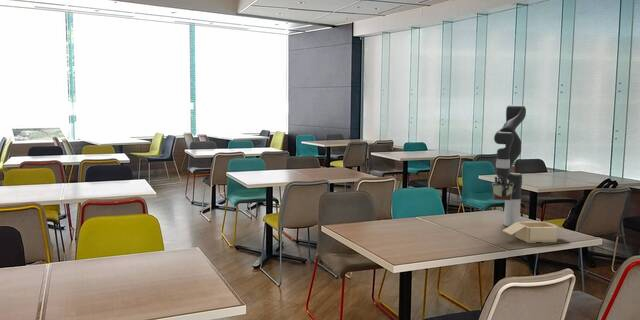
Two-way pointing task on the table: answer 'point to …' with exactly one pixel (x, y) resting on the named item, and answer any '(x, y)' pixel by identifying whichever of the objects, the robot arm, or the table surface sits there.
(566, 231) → the flap back
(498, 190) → the food container
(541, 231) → the carton
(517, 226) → the flap front
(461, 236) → the table surface
